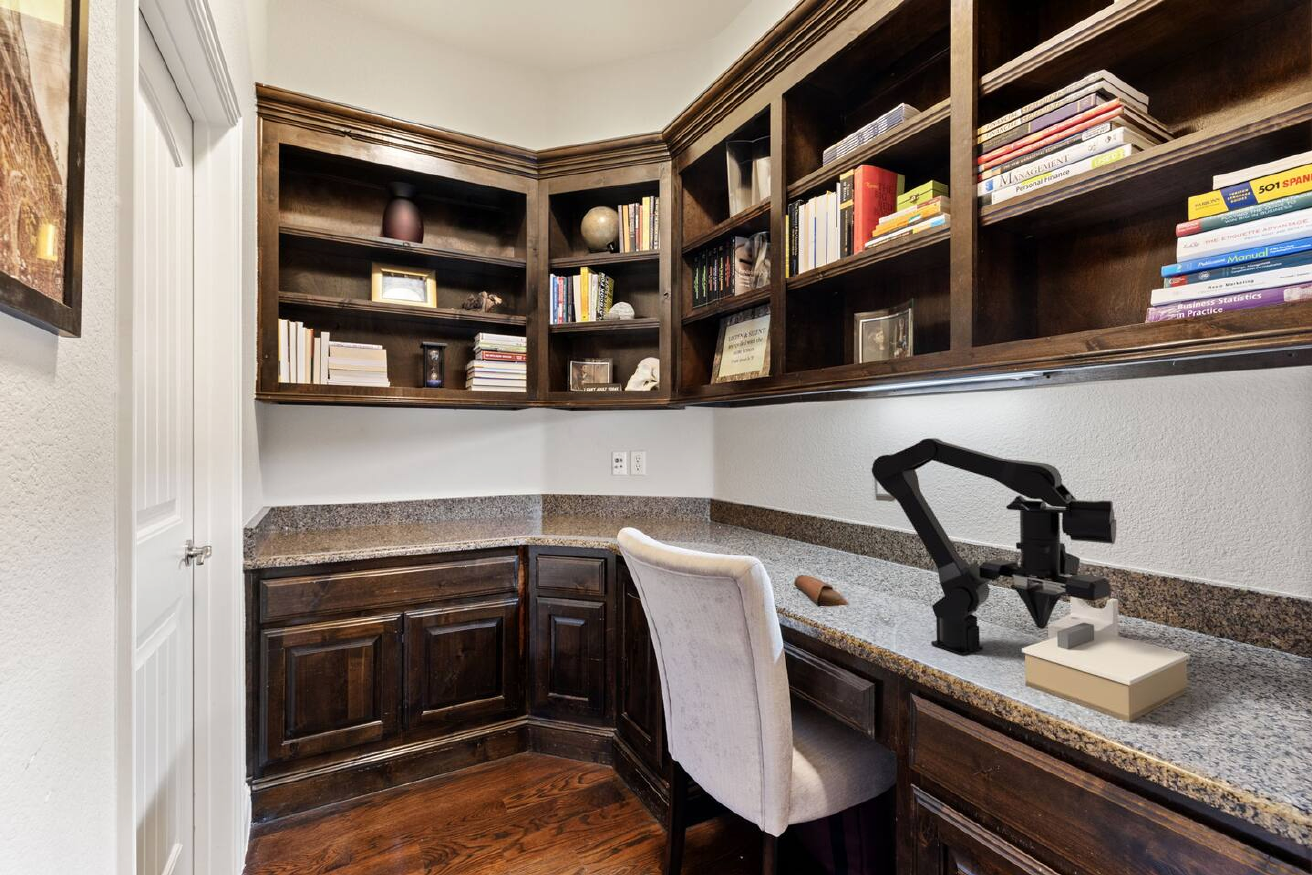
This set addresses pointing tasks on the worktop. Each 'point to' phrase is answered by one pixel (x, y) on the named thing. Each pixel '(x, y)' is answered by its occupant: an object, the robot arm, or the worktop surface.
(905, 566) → the worktop surface
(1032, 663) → the box
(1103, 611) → the bracket
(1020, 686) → the worktop surface
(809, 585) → the sunglasses case
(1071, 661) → the lid
